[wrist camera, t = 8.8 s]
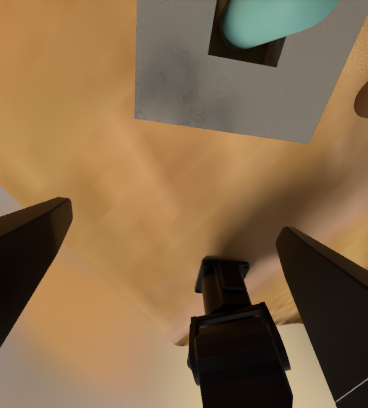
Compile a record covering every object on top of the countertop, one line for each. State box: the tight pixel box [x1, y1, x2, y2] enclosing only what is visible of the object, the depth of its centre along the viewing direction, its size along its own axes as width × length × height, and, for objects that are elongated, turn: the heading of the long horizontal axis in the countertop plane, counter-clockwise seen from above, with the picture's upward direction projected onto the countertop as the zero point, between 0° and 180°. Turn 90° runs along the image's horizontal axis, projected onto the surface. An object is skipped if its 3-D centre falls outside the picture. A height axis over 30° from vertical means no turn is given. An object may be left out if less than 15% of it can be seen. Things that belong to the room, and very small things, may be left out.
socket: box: [134, 0, 368, 144], centre depth 14 cm, size 14×14×3 cm
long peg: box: [219, 0, 339, 51], centre depth 11 cm, size 3×3×9 cm
